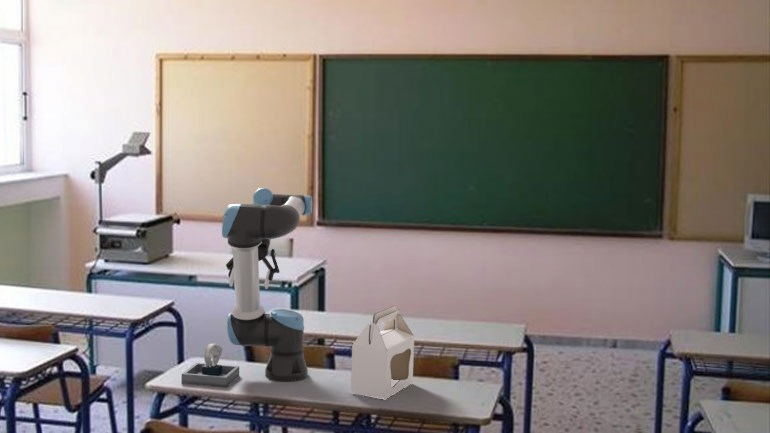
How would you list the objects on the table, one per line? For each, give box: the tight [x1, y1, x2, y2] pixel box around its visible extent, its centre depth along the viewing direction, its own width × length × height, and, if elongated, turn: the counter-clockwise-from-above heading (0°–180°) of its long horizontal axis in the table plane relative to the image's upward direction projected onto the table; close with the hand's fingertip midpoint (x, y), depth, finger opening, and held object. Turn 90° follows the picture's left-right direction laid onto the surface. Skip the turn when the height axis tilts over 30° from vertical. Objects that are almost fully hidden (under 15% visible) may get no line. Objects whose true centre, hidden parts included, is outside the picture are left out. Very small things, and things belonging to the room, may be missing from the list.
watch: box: [202, 342, 223, 376], centre depth 332 cm, size 6×8×11 cm
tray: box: [181, 362, 240, 388], centre depth 329 cm, size 16×14×4 cm
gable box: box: [350, 305, 415, 399], centre depth 323 cm, size 22×13×28 cm, turn 154°
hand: (247, 285), depth 346 cm, fingers open, 13 cm apart
